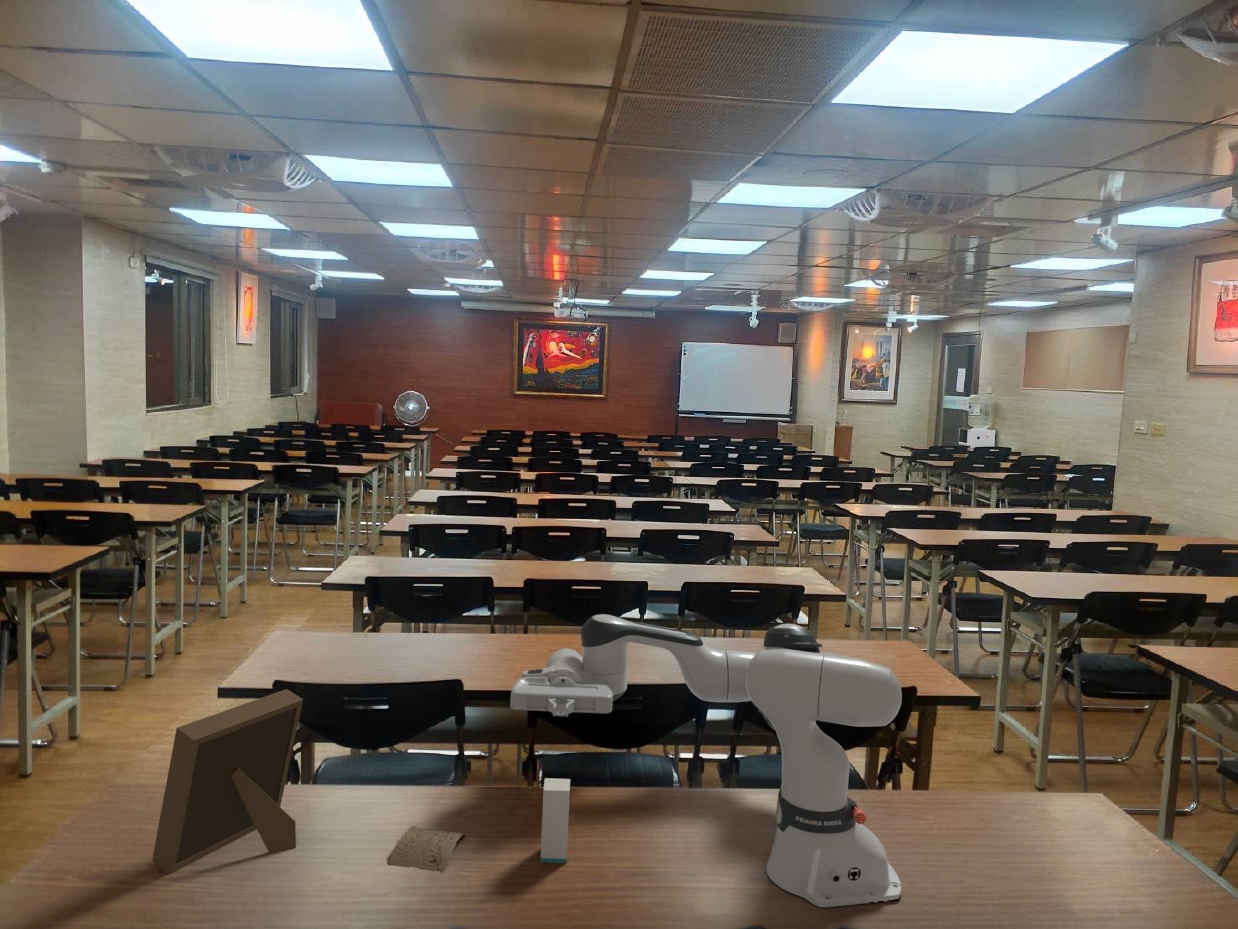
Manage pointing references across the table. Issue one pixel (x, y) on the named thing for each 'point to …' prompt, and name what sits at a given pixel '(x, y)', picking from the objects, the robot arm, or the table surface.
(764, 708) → the robot arm
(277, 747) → the photo frame
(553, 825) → the block
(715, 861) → the table surface
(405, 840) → the clay tablet
